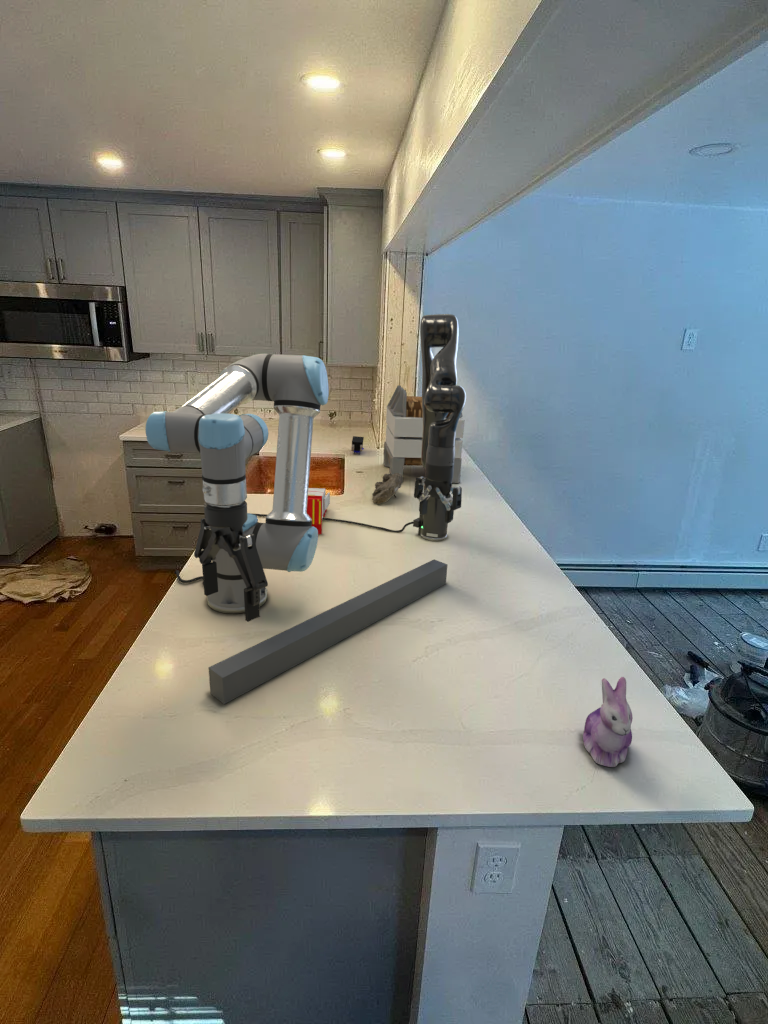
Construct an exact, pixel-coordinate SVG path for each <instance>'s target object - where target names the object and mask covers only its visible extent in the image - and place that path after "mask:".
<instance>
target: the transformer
mask: <svg viewBox="0 0 768 1024" xmlns="http://www.w3.org/2000/svg"><path fill="white" fill-rule="evenodd" d="M407 394H408V393H407V390H406V389H404V388H403V387H402V385H399V384H398V385H397V386H396V388H395V390H394V392H393V394H392V395H391V398H390V400H389V402H388V404H387V405H386V413H385V414H386V415H385V423H386V428H385V438H384V442H383V466H384V467H388V468H389V474H390V473H391V474H392V475H393V474H394V473H399V474H401V475H402V476H403V475H404V469H405V466H406V467H407V466H411V467H412V466H413V467H415V466H416V467H417V466H418V467H423V466H422V462H421V450H422V434H423V414H422V396H415V395H414V396H413V395H412V396H411V395H407ZM449 415H450V413H448V415H447V416H446V418H448V416H449ZM446 418H445V419H446ZM464 429H465V419H464V418H463V412H462V413H461V415H460V418H459V421H458V424H457V428H456V435H455V459H454V470H453V479H452V482H451V483H452V484H455V483H456V484H459V483H461V472H462V461H463V460H462V453H463V442H464V441H463V440H462V439H463V438H464V431H465V430H464Z"/></svg>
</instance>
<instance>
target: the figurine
mask: <svg viewBox="0 0 768 1024" xmlns="http://www.w3.org/2000/svg"><path fill="white" fill-rule="evenodd" d="M601 693H602V695H601V696H602V704H601V706H600V707H597V709H595V710H594V711H592V712H590V713H589V714H588V715H587V717H586V719H585V722H584V727H583V728H584V729H583V734H582V739H583V746H584V748H585V750H586V751H587V752H588V754H589V755H590V756H591V758H592V760H593V761H594V763H595V764H598V765H600V766H604V767H608V768H615V767H617V766H618V764H621V763H625V761H626V759H627V754H628V751H629V747H630V746H631V744H632V742H633V731H632V722H633V712H632V709H631V707H630V704H629V702H628V700H627V679H626V678H625V677H624V676H621V677H619V679H618V680H617V682H616V686H615V688H613V687H612V685H611V683H610V682H609V680H607V678H605V677H603V678H602V679H601Z"/></svg>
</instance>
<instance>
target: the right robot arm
mask: <svg viewBox="0 0 768 1024" xmlns="http://www.w3.org/2000/svg"><path fill="white" fill-rule="evenodd" d="M459 330H460V329H459V320H458V318H457V316H456V315H455V314H451V313H445V314H444V313H442V314H441V313H440V314H439V313H438V314H437V313H436V314H425V315H423V316H422V317H421V319H420V324H419V336H420V352H421V353H420V354H421V372H422V373H421V376H422V377H421V397H422V414H423V434H422V450H421V462H422V466H421V467H423V469H424V476H423V475H422V476H418V477H415V483H414V490H413V498H414V499H417V500H418V501H419V503H418V504H419V505H418V511H419V516H418V517H417V518H414V519H413V521H409V522H407V523H405V524H404V525H403V527H401V529H399V530H393V529H389V528H387V527H382V526H376V525H373V524H372V525H371V524H367V523H362V522H358V521H351V520H346V519H345V520H344V519H340V518H339V519H337V518H329V517H323V519H322V521H329V522H330V521H331V522H339V523H340V522H341V523H345V524H351V525H356V526H357V525H358V526H362V527H368V528H372V529H377V530H383V531H385V532H390V533H402V532H404V531H405V529H406V527H408V526H410V525H412V527H413V528H418V530H417V535H418V536H420V538H421V539H424V540H426V541H432V542H440V541H444V540H446V539H447V538H448V525H449V524H450V523H451V522H452V521H454V516H455V515H454V514H455V511H456V510H458V509H461V508H462V498H463V497H462V495H463V494H462V492H463V487H461V486H453V483H451V482H452V479H453V470H454V459H455V435H456V428H457V424H458V421H459V418H460V415H461V413H462V414H463V410H464V408H465V404H466V400H467V393H466V391H465V388H464V387H462V385H457V384H458V373H457V355H458V349H459V332H460V331H459ZM433 348H434V349H435V348H440V350H439V351H438V352H437V353H436V354H435V355H434V354H433V350H432V349H433ZM448 413H450V415H449V416H448V418H446V416H447V415H448ZM445 418H446V419H445ZM250 513H251V512H250ZM251 514H253V515H256V517H265V518H266V516H267V515H268V514H264V513H263V514H262V513H251Z"/></svg>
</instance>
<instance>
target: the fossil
mask: <svg viewBox="0 0 768 1024" xmlns="http://www.w3.org/2000/svg"><path fill="white" fill-rule="evenodd" d="M403 482H404V476H403V475H401V474H399V473H394V474H393V475H392V474H391V473H390V472H389V473H384V474H383V476H382V481H376V482H375V483H374V488H375V489H374V490H373V493H372V494H371V495H372V496H371V497H372V502H373V503H374V504H376V505H380V504H381V505H382V504H384V503H387V502H388V501H389V500H390V499H391V498H393V497H394V498H395V499H396V498H397V496H396V493H397V492H398V490H399V489H401V487H402V485H403Z"/></svg>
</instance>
